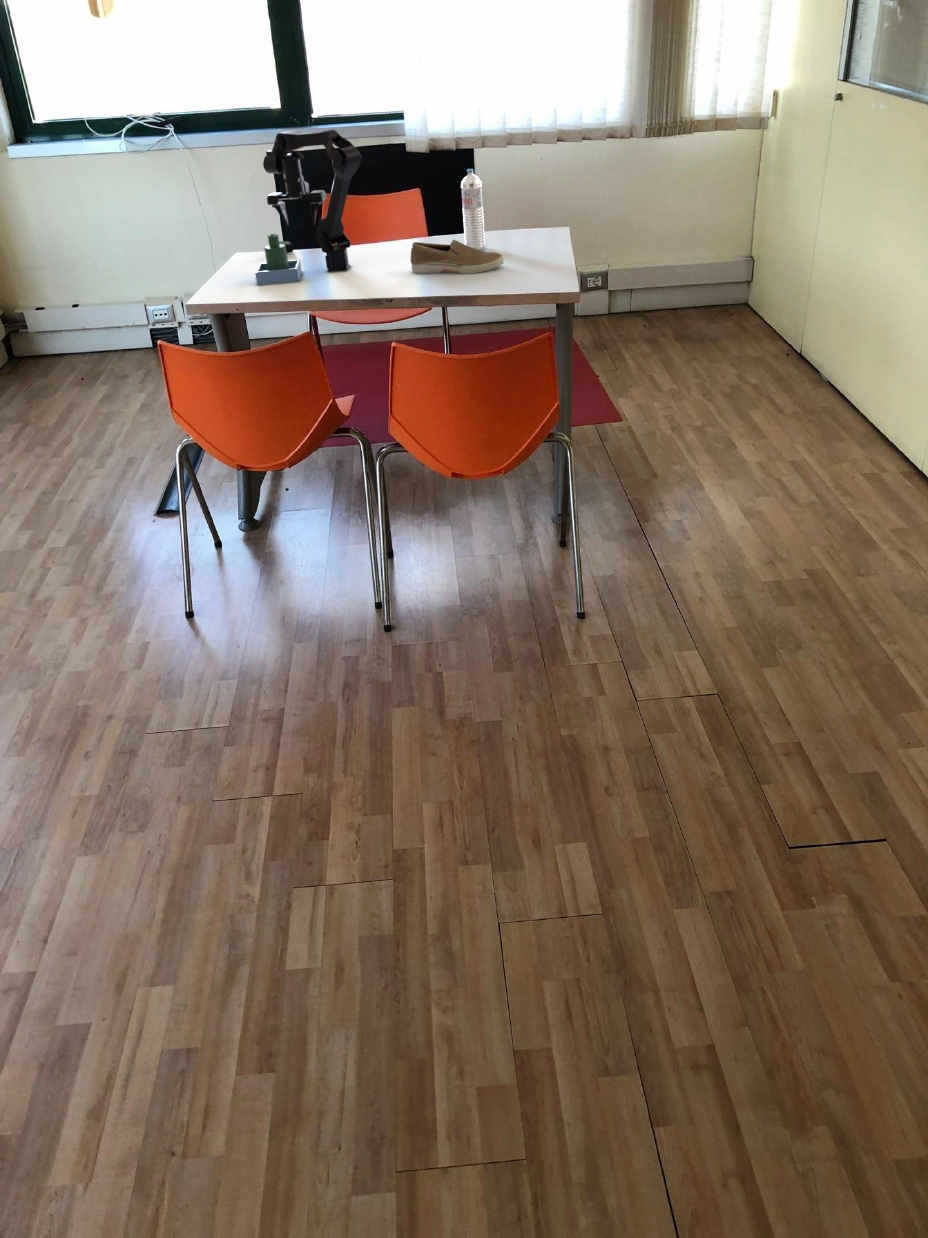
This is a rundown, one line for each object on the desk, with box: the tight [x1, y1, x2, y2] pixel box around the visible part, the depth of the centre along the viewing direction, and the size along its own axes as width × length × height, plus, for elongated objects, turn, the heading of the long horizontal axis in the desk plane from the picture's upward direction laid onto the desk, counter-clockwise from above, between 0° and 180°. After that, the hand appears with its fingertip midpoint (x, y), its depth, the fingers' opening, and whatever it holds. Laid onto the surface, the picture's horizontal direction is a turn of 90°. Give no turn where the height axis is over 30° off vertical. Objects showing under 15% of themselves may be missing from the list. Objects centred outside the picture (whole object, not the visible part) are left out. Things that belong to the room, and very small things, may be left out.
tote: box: [254, 259, 303, 286], centre depth 312 cm, size 13×12×4 cm
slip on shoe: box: [410, 239, 505, 275], centre depth 304 cm, size 30×11×9 cm, turn 78°
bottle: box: [264, 233, 289, 271], centre depth 309 cm, size 7×7×13 cm
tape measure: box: [279, 240, 294, 254], centre depth 343 cm, size 7×7×4 cm
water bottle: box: [460, 168, 486, 251], centre depth 322 cm, size 7×7×25 cm
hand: (300, 225), depth 319 cm, fingers open, 9 cm apart
